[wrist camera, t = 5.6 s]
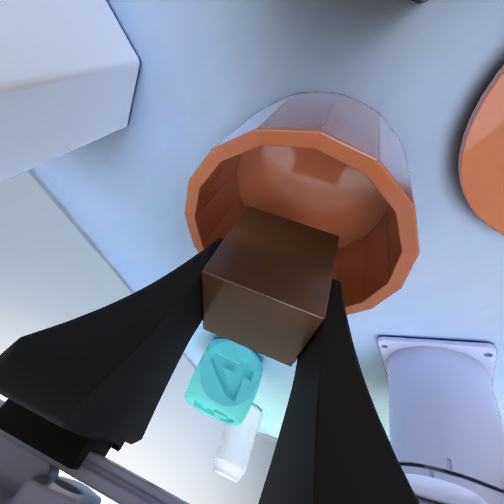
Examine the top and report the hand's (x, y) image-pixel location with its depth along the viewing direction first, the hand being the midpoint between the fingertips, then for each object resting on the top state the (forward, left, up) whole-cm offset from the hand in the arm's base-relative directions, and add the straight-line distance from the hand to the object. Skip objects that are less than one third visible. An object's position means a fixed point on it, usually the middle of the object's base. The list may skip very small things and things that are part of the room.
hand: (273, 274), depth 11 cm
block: (0, 0, -1) cm, 1 cm away
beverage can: (-45, +27, -8) cm, 53 cm away
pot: (0, 0, -8) cm, 8 cm away
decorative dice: (-23, +18, -8) cm, 30 cm away
